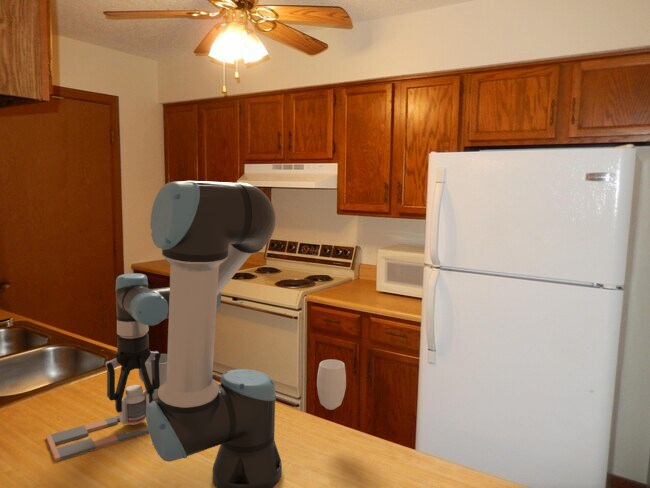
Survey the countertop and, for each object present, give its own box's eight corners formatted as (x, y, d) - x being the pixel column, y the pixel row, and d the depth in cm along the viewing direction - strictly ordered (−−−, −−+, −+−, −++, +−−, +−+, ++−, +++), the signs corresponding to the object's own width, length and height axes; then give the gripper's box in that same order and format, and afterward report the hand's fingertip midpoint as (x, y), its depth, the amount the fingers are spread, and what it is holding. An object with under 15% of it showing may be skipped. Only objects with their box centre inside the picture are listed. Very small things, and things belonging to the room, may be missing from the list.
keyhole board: (164, 428, 121) (164, 425, 121) (55, 461, 105) (55, 458, 105) (148, 410, 130) (148, 407, 130) (46, 438, 114) (46, 435, 114)
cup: (349, 444, 116) (352, 365, 114) (328, 454, 112) (331, 372, 109) (330, 431, 122) (333, 356, 119) (309, 441, 117) (311, 362, 114)
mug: (180, 390, 143) (180, 356, 142) (162, 401, 135) (162, 366, 134) (149, 383, 147) (148, 350, 146) (129, 394, 139) (128, 359, 138)
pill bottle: (149, 419, 123) (149, 387, 122) (132, 427, 118) (131, 394, 117) (137, 413, 125) (136, 382, 124) (119, 421, 121) (118, 388, 120)
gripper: (163, 324, 128) (164, 404, 131) (90, 336, 116) (93, 423, 119) (173, 331, 122) (174, 414, 125) (98, 344, 110) (101, 436, 113)
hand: (134, 418), depth 122 cm, fingers closed on pill bottle, 5 cm apart
